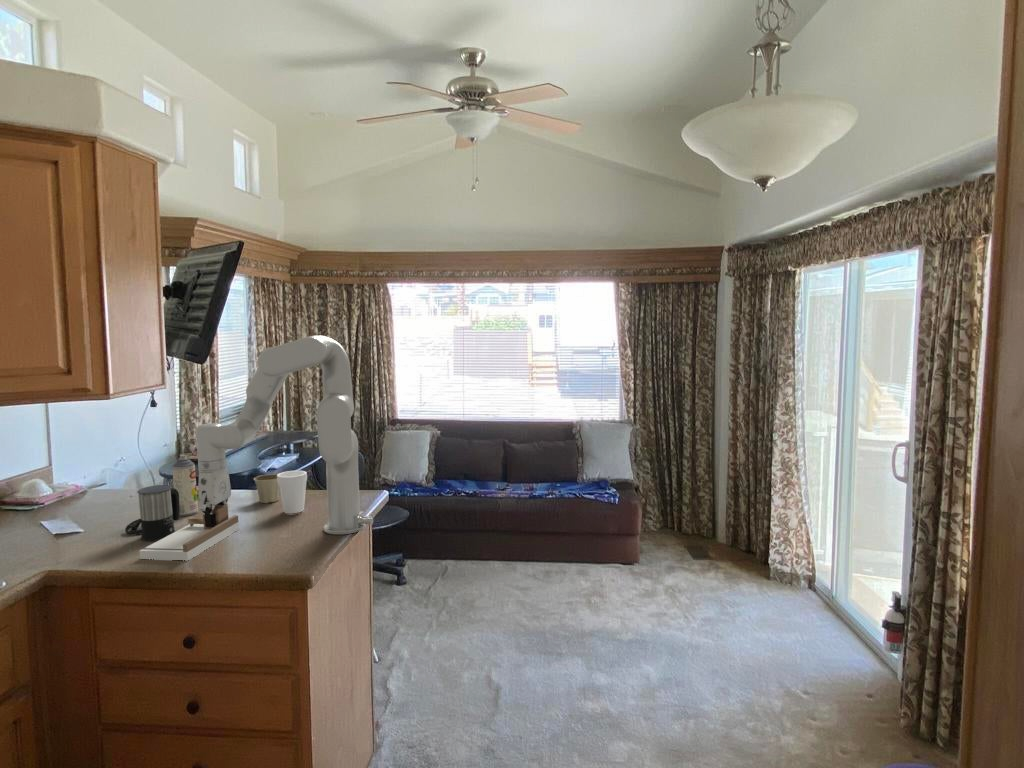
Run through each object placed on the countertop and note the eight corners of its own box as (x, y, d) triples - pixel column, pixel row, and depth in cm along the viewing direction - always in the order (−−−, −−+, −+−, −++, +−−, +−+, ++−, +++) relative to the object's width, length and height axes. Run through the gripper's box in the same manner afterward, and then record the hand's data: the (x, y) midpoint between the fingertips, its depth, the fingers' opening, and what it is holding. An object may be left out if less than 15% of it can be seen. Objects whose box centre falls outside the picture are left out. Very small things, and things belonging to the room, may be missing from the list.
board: (238, 529, 203) (238, 515, 202) (188, 560, 177) (186, 544, 177) (196, 528, 204) (195, 514, 204) (140, 559, 179) (138, 543, 178)
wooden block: (228, 524, 200) (227, 505, 199) (219, 529, 195) (218, 510, 194) (195, 523, 201) (194, 504, 201) (185, 528, 196) (183, 509, 196)
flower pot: (259, 497, 238) (257, 474, 237) (285, 496, 239) (284, 473, 238) (251, 505, 229) (250, 481, 228) (279, 504, 230) (278, 479, 229)
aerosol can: (196, 515, 219) (192, 456, 216) (174, 517, 216) (169, 458, 214) (199, 509, 225) (195, 452, 223) (177, 511, 223) (173, 453, 221)
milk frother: (168, 540, 194) (165, 491, 192) (111, 544, 192) (107, 494, 190) (185, 525, 208) (181, 479, 206) (131, 528, 206) (128, 482, 204)
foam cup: (312, 512, 219) (310, 474, 218) (283, 517, 214) (281, 478, 213) (303, 505, 227) (301, 469, 226) (276, 510, 222) (273, 473, 220)
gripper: (207, 471, 187) (211, 533, 189) (239, 458, 204) (243, 515, 206) (182, 471, 188) (187, 533, 190) (216, 458, 205) (220, 515, 207)
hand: (216, 523), depth 198 cm, fingers closed on wooden block, 5 cm apart
